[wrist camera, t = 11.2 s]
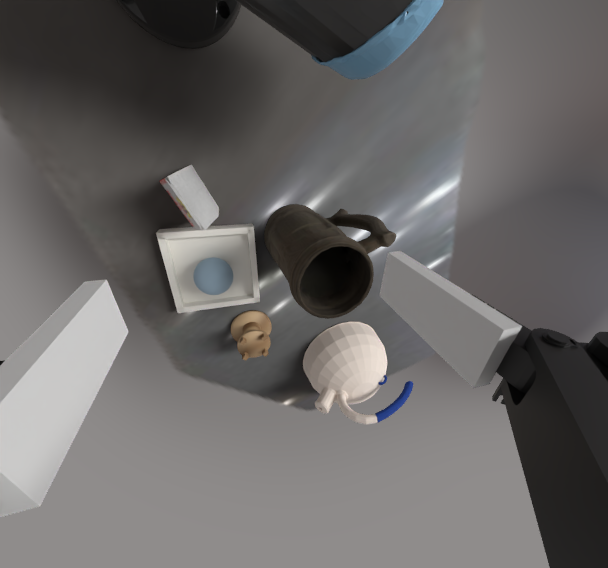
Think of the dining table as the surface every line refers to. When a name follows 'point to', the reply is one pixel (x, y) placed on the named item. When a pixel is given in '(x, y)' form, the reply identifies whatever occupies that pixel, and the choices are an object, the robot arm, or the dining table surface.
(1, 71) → the dining table surface
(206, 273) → the ball
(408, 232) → the dining table surface
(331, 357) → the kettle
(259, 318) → the stand
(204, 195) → the white cardboard box
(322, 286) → the beer stein
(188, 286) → the tray
